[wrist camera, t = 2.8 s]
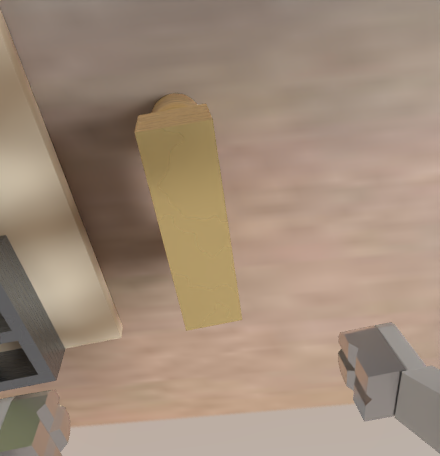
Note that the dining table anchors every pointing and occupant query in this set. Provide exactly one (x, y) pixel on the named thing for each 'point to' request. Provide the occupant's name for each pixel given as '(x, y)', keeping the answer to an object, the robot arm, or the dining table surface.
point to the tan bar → (190, 208)
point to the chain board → (46, 217)
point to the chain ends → (24, 328)
